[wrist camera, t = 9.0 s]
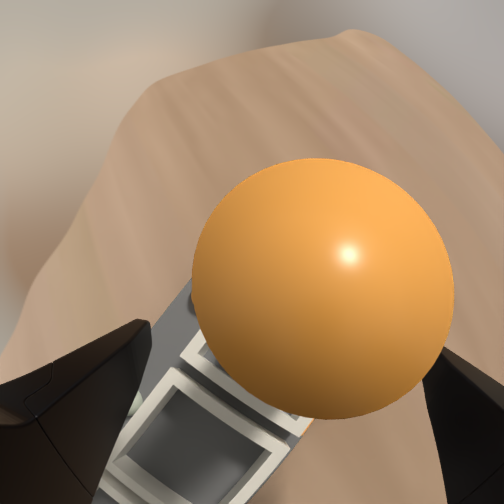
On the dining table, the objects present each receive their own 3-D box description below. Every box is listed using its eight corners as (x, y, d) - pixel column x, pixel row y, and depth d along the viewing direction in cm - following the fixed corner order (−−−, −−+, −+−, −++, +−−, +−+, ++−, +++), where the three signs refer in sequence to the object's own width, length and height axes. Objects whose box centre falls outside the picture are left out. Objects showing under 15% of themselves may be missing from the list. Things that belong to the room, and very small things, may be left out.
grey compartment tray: (157, 580, 10) (146, 600, 7) (40, 487, 12) (17, 495, 9) (365, 332, 17) (384, 324, 14) (226, 241, 19) (223, 219, 17)
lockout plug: (308, 396, 15) (434, 432, 4) (223, 375, 15) (153, 374, 4) (328, 315, 17) (451, 196, 5) (247, 294, 17) (238, 137, 6)
